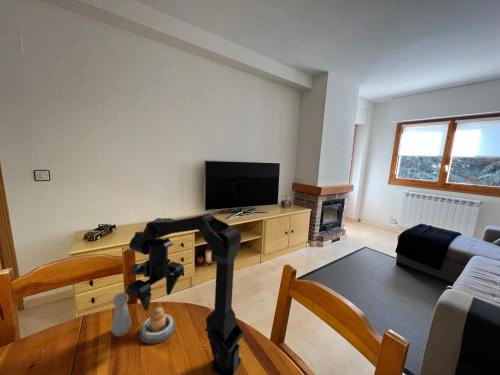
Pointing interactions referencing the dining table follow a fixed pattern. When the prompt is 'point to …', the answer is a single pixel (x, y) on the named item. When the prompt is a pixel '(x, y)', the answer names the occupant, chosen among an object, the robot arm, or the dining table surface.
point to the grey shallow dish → (160, 336)
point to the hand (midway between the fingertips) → (157, 301)
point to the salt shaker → (120, 315)
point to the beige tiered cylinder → (157, 320)
